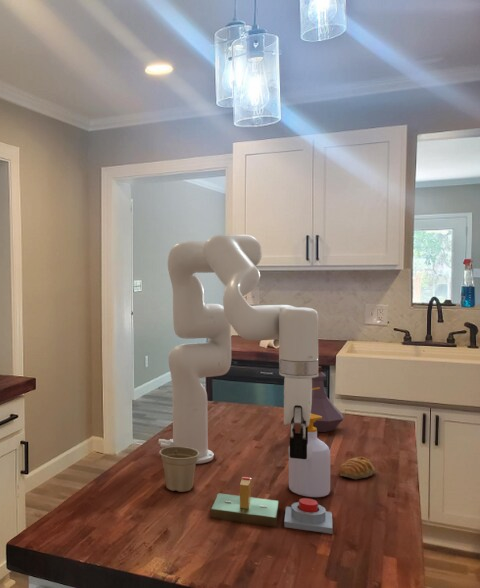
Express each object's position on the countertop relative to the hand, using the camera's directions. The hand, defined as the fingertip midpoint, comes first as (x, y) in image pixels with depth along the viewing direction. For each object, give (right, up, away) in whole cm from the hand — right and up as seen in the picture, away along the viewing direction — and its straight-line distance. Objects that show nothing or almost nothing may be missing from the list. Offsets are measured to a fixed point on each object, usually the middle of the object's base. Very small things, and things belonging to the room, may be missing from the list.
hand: (299, 450), depth 118 cm
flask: (+31, -12, +69) cm, 77 cm away
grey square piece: (+2, -15, 0) cm, 15 cm away
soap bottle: (+9, -14, +17) cm, 24 cm away
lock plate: (-10, -15, +5) cm, 18 cm away
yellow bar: (-10, -13, +5) cm, 17 cm away
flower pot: (-21, -14, +20) cm, 33 cm away
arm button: (+2, -12, 0) cm, 12 cm away
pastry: (+24, -13, +27) cm, 38 cm away
